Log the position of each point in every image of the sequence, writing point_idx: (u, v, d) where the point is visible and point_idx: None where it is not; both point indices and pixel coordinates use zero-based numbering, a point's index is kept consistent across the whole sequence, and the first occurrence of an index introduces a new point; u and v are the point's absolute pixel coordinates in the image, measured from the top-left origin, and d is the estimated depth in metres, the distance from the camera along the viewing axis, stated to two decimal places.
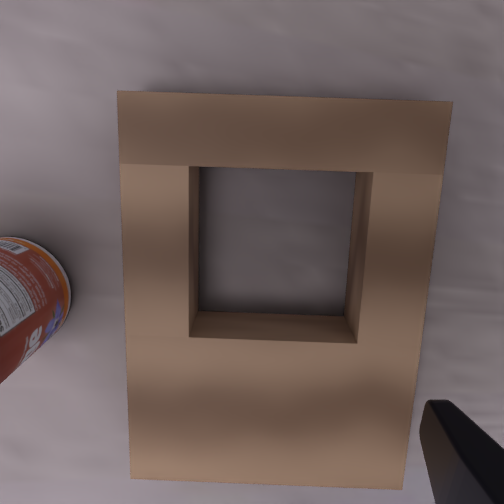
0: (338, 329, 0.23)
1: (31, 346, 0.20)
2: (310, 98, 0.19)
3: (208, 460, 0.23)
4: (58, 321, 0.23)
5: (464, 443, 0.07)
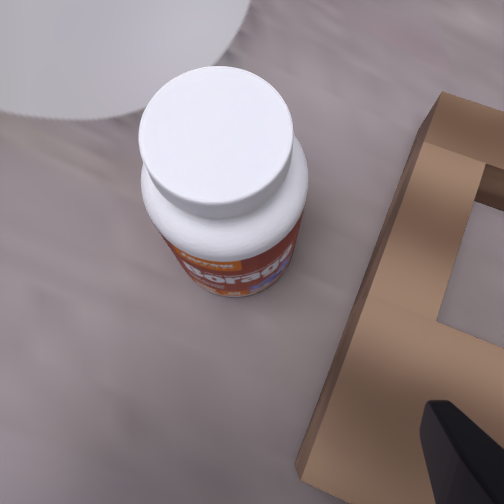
0: None
1: (280, 259, 0.19)
2: None
3: (410, 492, 0.17)
4: (279, 272, 0.22)
5: (464, 443, 0.07)
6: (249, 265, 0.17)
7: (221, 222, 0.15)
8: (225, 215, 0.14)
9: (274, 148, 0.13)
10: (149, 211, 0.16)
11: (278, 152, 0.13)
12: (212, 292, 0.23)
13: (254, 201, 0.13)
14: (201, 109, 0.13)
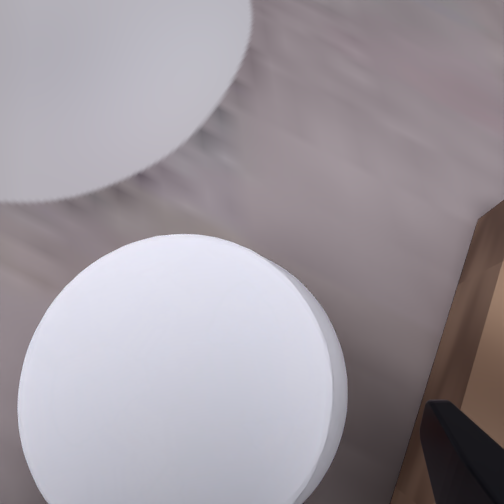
0: None
1: None
2: None
3: None
4: None
5: (464, 443, 0.07)
6: None
7: None
8: None
9: (296, 426, 0.06)
10: None
11: (304, 439, 0.06)
12: None
13: None
14: (147, 331, 0.07)
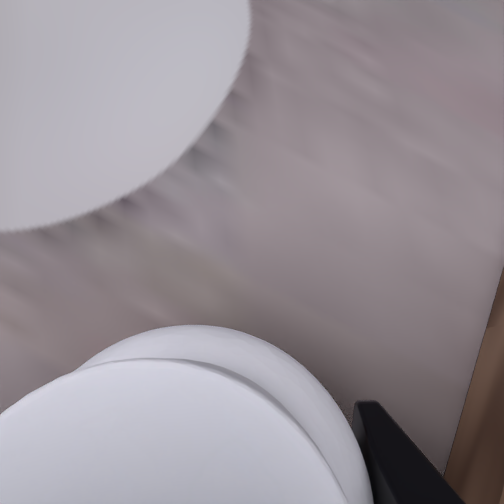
0: None
1: None
2: None
3: None
4: None
5: (381, 444, 0.07)
6: None
7: None
8: None
9: None
10: None
11: None
12: None
13: None
14: None
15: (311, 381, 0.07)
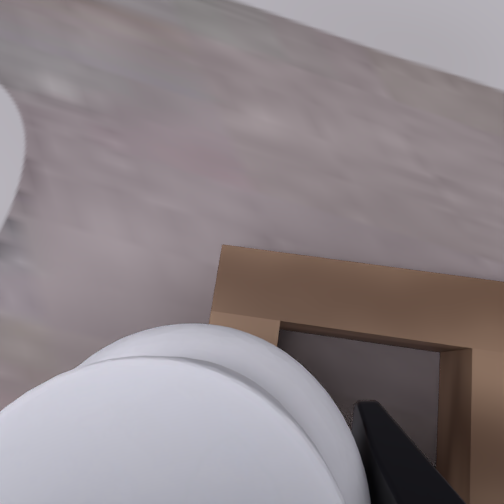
0: None
1: None
2: (405, 270, 0.19)
3: None
4: None
5: (381, 444, 0.07)
6: None
7: None
8: None
9: None
10: None
11: None
12: None
13: None
14: None
15: (308, 379, 0.07)
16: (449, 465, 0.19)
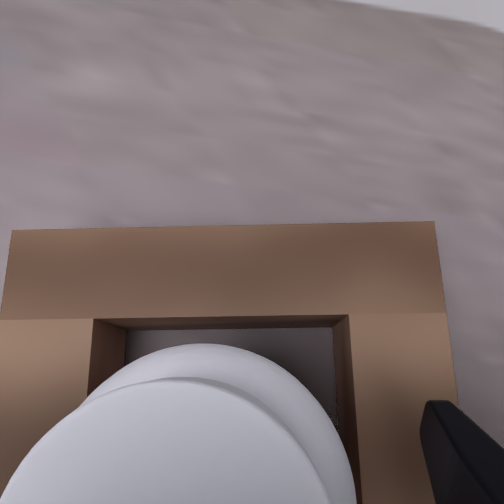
0: None
1: None
2: (253, 226, 0.15)
3: None
4: None
5: (464, 443, 0.07)
6: None
7: None
8: None
9: None
10: None
11: None
12: None
13: None
14: None
15: (303, 392, 0.09)
16: None
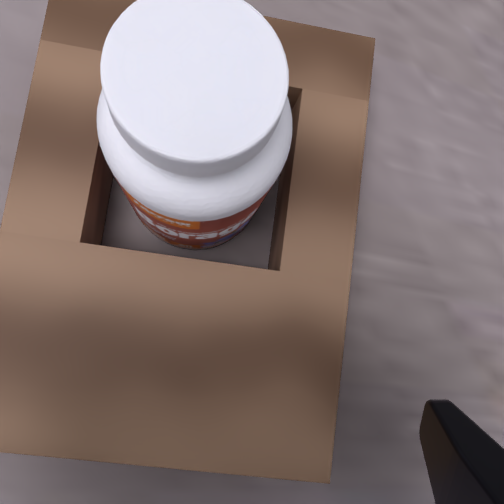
0: None
1: (242, 221, 0.17)
2: None
3: (74, 422, 0.17)
4: (237, 232, 0.20)
5: (464, 443, 0.07)
6: (208, 225, 0.15)
7: (186, 178, 0.13)
8: (192, 174, 0.12)
9: (262, 106, 0.11)
10: (102, 147, 0.13)
11: (266, 113, 0.11)
12: (161, 239, 0.21)
13: (229, 164, 0.11)
14: (183, 38, 0.11)
15: None
16: (280, 207, 0.21)
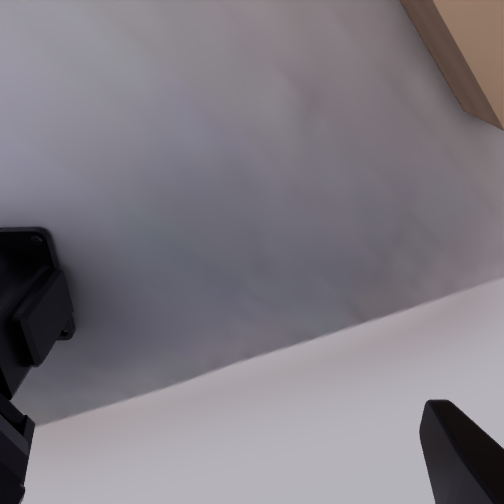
0: None
1: None
2: None
3: None
4: None
5: (464, 443, 0.07)
6: None
7: None
8: None
9: None
10: None
11: None
12: None
13: None
14: None
15: None
16: None
